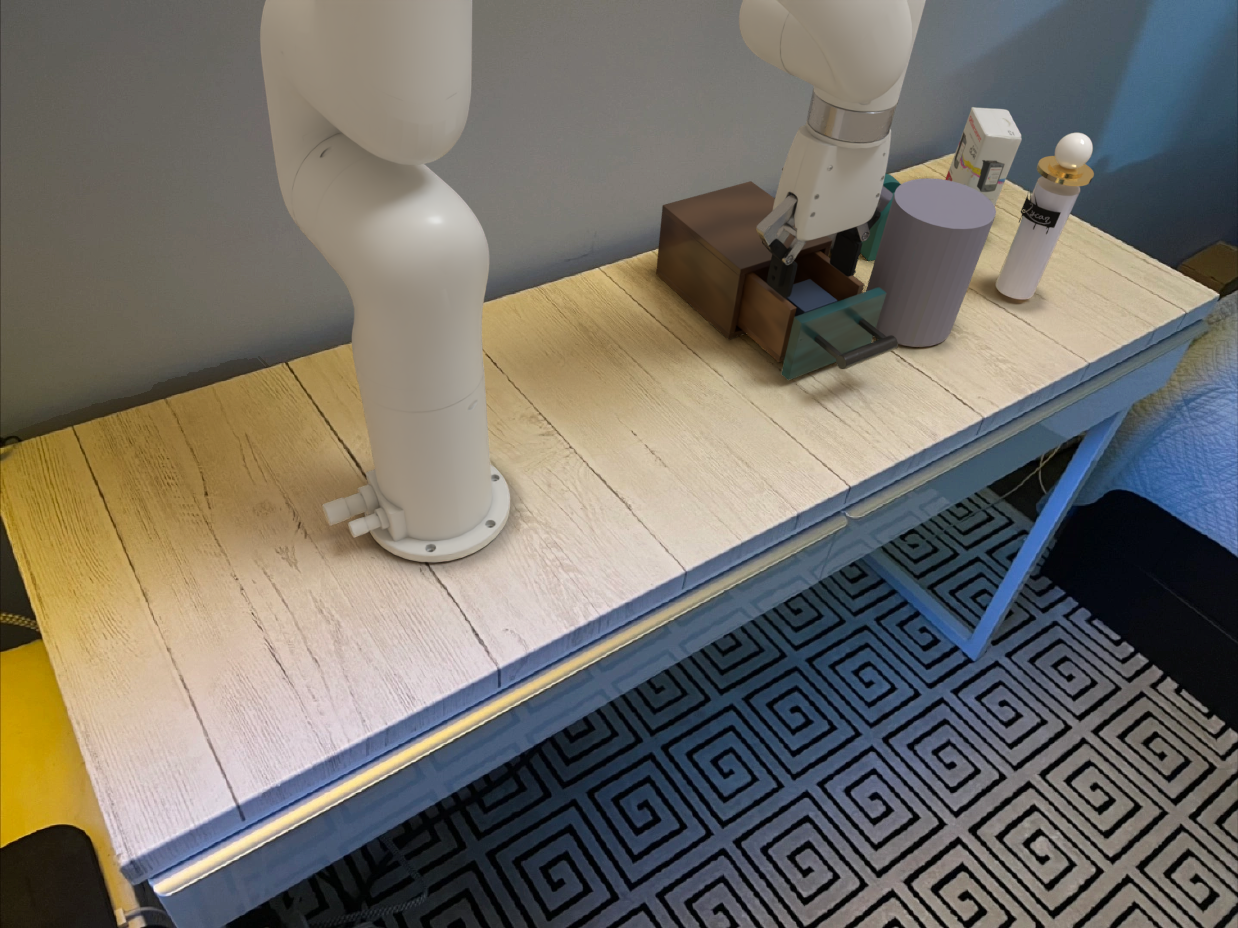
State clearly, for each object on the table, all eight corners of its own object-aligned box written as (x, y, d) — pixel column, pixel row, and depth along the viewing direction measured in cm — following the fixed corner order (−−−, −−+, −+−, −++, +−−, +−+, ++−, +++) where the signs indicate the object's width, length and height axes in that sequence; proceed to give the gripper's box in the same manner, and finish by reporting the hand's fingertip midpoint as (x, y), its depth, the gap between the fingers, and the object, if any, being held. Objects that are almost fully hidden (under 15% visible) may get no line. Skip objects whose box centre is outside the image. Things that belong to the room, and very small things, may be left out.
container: (841, 315, 105) (874, 196, 95) (896, 285, 110) (933, 169, 100) (914, 360, 100) (957, 239, 89) (968, 327, 105) (1015, 209, 94)
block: (796, 346, 97) (804, 311, 94) (770, 324, 100) (777, 289, 97) (828, 334, 99) (837, 300, 96) (801, 312, 102) (810, 278, 98)
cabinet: (815, 309, 106) (832, 239, 99) (728, 340, 101) (740, 269, 94) (739, 248, 114) (750, 180, 108) (655, 273, 109) (662, 204, 103)
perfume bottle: (1004, 274, 113) (1069, 117, 99) (1046, 296, 110) (1119, 137, 96) (978, 290, 110) (1041, 130, 96) (1020, 313, 107) (1092, 152, 93)
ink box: (941, 187, 128) (968, 104, 120) (977, 190, 128) (1006, 107, 120) (954, 219, 122) (983, 134, 114) (992, 222, 122) (1024, 137, 114)
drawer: (901, 374, 97) (921, 318, 91) (819, 408, 92) (835, 351, 87) (790, 285, 107) (802, 230, 102) (712, 312, 103) (720, 255, 98)
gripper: (891, 83, 88) (848, 243, 101) (748, 115, 81) (721, 283, 94) (948, 114, 84) (896, 277, 96) (803, 150, 77) (766, 321, 89)
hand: (810, 279), depth 95 cm, fingers open, 8 cm apart
